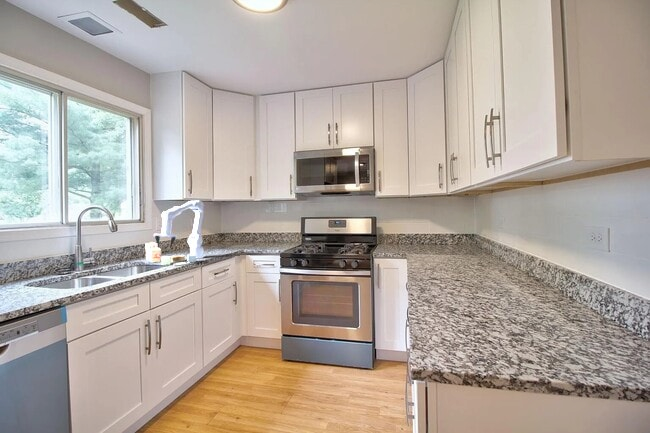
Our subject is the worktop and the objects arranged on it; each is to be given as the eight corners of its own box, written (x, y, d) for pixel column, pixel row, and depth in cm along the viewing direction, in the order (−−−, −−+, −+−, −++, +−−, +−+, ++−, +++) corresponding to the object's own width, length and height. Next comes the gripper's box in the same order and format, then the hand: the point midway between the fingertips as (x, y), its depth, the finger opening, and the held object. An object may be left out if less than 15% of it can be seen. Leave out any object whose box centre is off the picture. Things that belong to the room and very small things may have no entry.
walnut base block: (183, 260, 220) (182, 254, 220) (184, 261, 213) (184, 256, 213) (171, 261, 215) (170, 255, 215) (172, 263, 209) (172, 257, 208)
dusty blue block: (194, 261, 214) (194, 254, 214) (196, 262, 210) (195, 255, 210) (187, 261, 212) (187, 254, 211) (188, 263, 207) (188, 255, 207)
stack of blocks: (161, 261, 213) (160, 244, 212) (151, 263, 209) (150, 245, 208) (155, 258, 229) (154, 242, 229) (145, 259, 225) (145, 243, 225)
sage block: (169, 263, 207) (169, 256, 206) (170, 264, 202) (170, 257, 202) (161, 264, 204) (161, 256, 204) (162, 265, 200) (162, 257, 200)
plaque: (187, 262, 207) (187, 261, 207) (189, 264, 200) (189, 263, 200) (173, 264, 203) (173, 263, 203) (174, 266, 195) (174, 265, 195)
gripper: (154, 227, 199) (151, 247, 197) (178, 228, 204) (175, 248, 203) (155, 227, 205) (152, 247, 204) (178, 229, 211) (176, 248, 209)
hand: (164, 247), depth 204 cm, fingers open, 7 cm apart
